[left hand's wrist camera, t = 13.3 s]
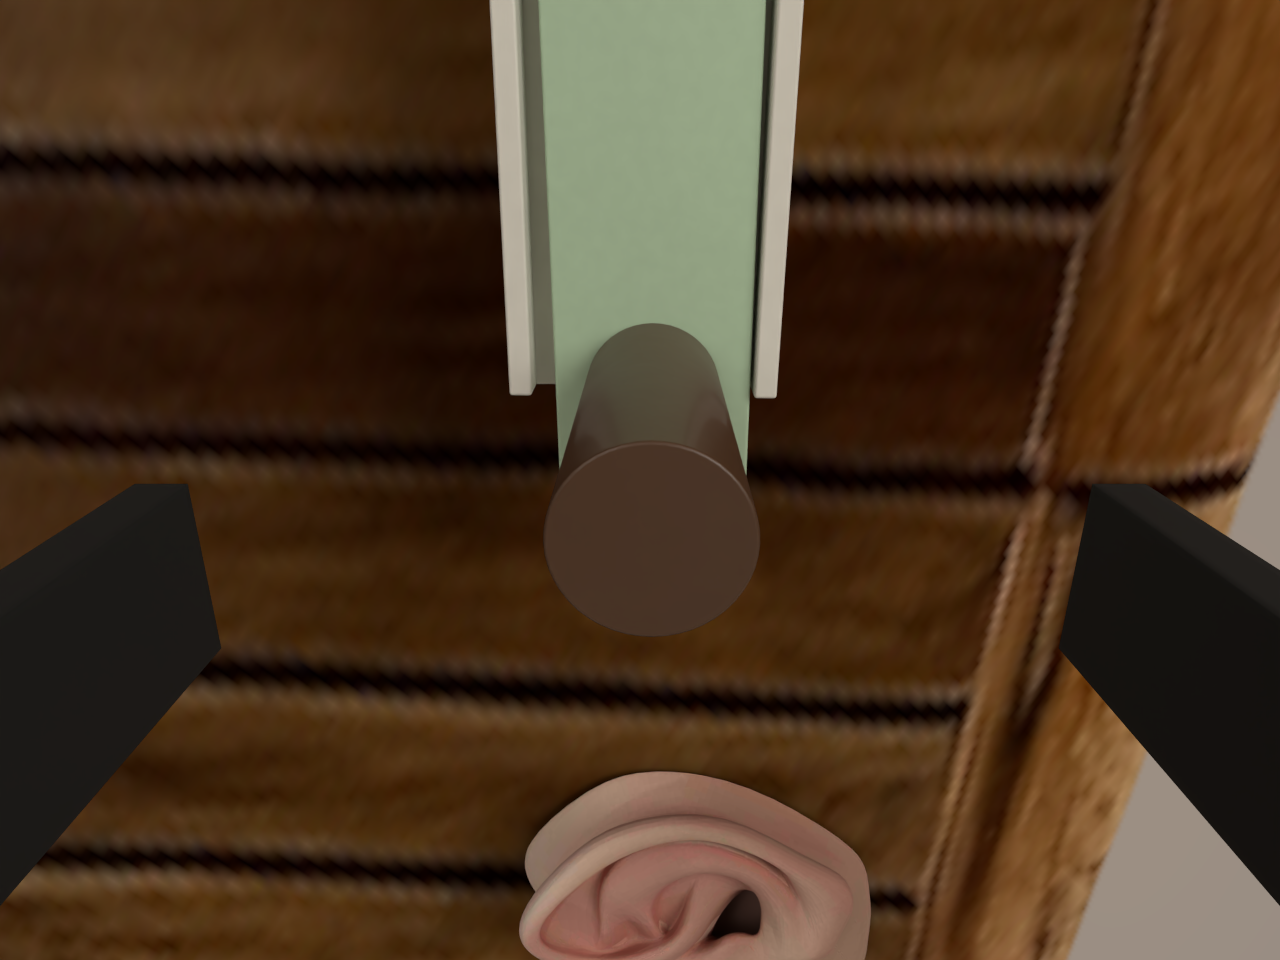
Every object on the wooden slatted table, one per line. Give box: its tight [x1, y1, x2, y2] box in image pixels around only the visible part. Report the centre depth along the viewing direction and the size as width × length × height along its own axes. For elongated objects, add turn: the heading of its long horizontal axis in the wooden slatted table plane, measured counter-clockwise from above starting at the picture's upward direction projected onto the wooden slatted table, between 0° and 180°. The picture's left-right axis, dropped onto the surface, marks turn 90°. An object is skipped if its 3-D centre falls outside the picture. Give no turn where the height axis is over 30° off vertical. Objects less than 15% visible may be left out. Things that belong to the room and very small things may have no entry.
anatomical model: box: [519, 772, 871, 960], centre depth 30 cm, size 13×4×12 cm
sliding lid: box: [538, 0, 766, 637], centre depth 14 cm, size 16×4×9 cm, turn 0°
